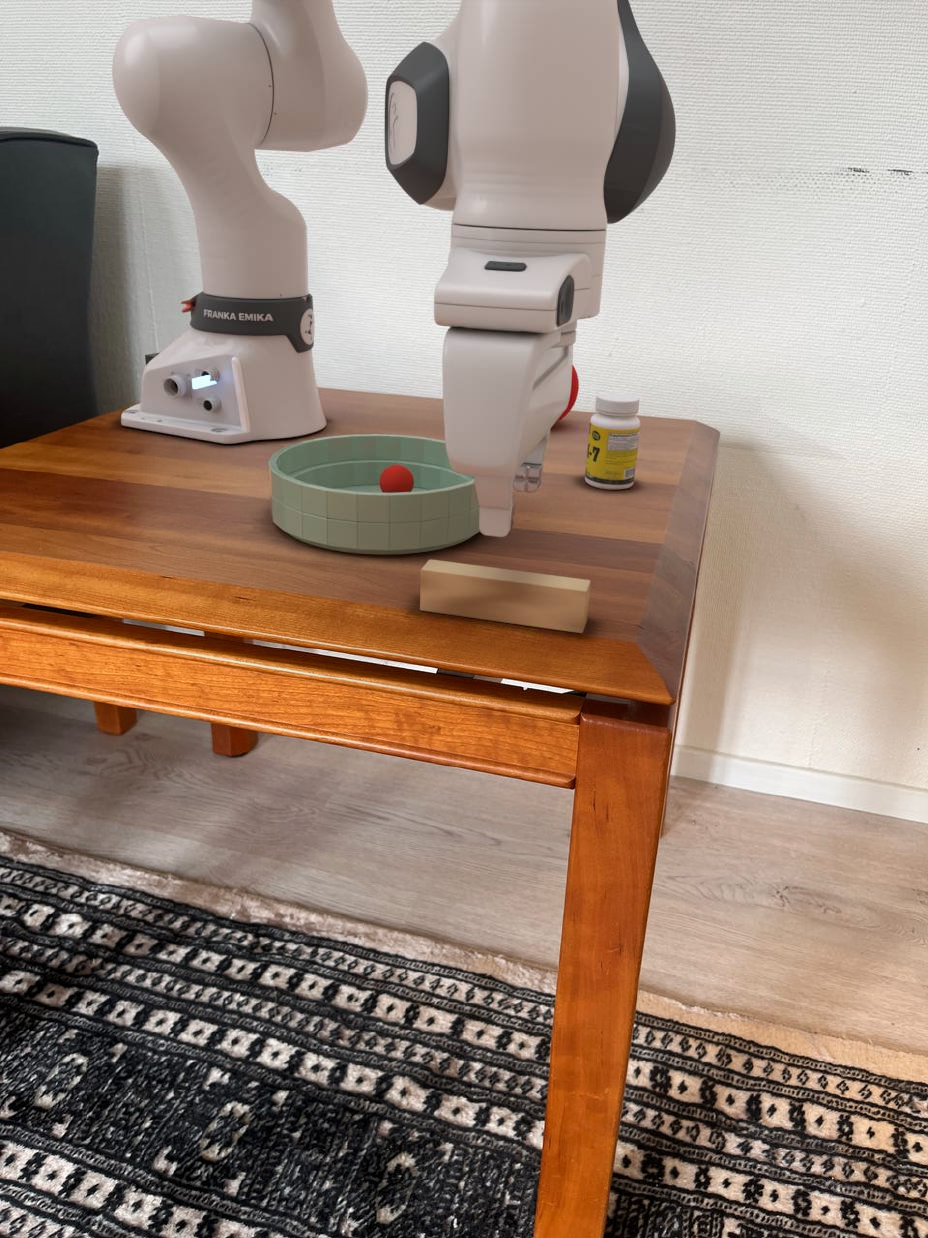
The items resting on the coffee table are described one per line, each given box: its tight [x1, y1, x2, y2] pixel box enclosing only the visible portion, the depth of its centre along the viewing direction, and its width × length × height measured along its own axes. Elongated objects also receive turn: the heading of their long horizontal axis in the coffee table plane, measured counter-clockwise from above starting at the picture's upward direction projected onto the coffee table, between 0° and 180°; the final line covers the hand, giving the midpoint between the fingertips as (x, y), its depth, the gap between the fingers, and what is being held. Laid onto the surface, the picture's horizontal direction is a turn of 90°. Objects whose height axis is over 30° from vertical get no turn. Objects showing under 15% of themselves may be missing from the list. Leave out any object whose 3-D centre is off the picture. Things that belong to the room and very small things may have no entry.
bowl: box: [267, 433, 481, 556], centre depth 82 cm, size 18×18×5 cm
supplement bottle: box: [584, 391, 641, 491], centre depth 94 cm, size 5×5×8 cm
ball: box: [379, 465, 414, 493], centre depth 86 cm, size 3×3×3 cm
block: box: [419, 558, 592, 634], centre depth 65 cm, size 11×2×3 cm, turn 75°
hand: (512, 509), depth 63 cm, fingers open, 8 cm apart
